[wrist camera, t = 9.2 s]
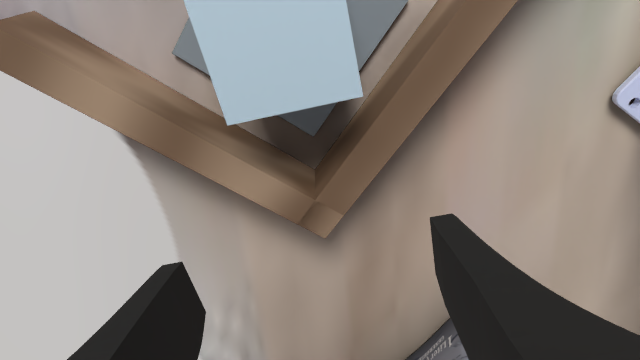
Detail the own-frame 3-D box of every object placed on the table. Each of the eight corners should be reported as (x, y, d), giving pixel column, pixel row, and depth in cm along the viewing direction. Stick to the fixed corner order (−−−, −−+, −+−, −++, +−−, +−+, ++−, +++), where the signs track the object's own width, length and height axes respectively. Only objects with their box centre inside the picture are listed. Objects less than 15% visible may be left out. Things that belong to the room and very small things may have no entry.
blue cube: (329, -63, 17) (334, -63, 13) (352, 60, 20) (363, 96, 15) (209, -33, 18) (175, -23, 13) (246, 84, 20) (227, 125, 16)
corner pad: (407, -1, 19) (408, -1, 18) (313, 134, 22) (313, 136, 21) (253, -116, 17) (253, -117, 16) (173, 51, 20) (172, 53, 19)
